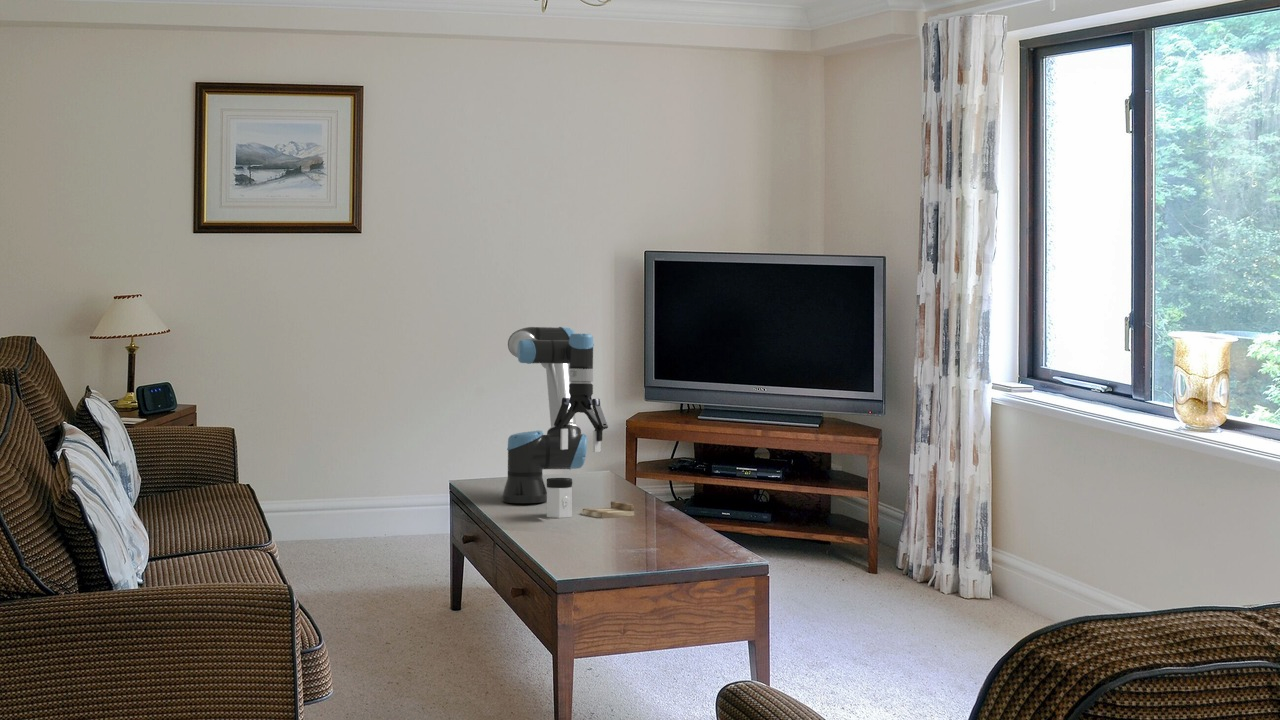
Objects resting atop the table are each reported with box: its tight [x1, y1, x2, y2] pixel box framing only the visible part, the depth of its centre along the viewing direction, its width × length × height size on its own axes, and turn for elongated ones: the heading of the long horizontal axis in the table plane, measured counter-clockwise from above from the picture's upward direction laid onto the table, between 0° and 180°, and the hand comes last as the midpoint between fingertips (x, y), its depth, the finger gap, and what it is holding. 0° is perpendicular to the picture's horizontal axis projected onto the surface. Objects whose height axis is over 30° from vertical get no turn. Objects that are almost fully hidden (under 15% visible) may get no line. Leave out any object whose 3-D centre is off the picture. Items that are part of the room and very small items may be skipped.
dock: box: [581, 501, 635, 519], centre depth 348 cm, size 12×12×4 cm
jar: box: [546, 477, 573, 519], centre depth 344 cm, size 9×8×12 cm
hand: (580, 450), depth 342 cm, fingers open, 13 cm apart
